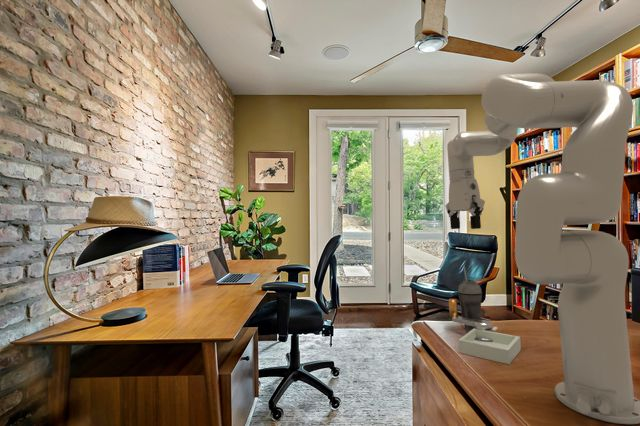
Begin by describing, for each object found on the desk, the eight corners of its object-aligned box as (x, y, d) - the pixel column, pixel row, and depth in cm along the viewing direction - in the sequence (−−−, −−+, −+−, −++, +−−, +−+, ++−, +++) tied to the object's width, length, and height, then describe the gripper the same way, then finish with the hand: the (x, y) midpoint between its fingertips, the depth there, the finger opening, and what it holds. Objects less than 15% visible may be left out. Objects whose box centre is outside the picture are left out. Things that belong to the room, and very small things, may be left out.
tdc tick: (494, 331, 97) (494, 329, 97) (491, 330, 97) (491, 329, 97) (497, 328, 99) (497, 327, 99) (494, 328, 99) (494, 326, 99)
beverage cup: (488, 333, 95) (483, 267, 96) (463, 332, 97) (458, 268, 98) (481, 325, 102) (476, 264, 103) (457, 325, 104) (453, 265, 105)
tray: (509, 364, 74) (508, 350, 74) (459, 352, 82) (458, 339, 82) (521, 349, 82) (520, 336, 82) (474, 339, 90) (473, 328, 90)
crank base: (496, 347, 84) (495, 336, 84) (462, 340, 90) (461, 329, 91) (505, 337, 91) (504, 327, 91) (472, 331, 97) (472, 322, 97)
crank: (495, 327, 90) (494, 304, 90) (487, 331, 87) (485, 307, 88) (455, 318, 100) (453, 297, 101) (446, 321, 98) (444, 300, 98)
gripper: (491, 171, 94) (495, 228, 94) (454, 180, 111) (457, 228, 110) (470, 171, 93) (474, 229, 92) (435, 180, 109) (439, 229, 109)
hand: (465, 228), depth 101 cm, fingers open, 9 cm apart
